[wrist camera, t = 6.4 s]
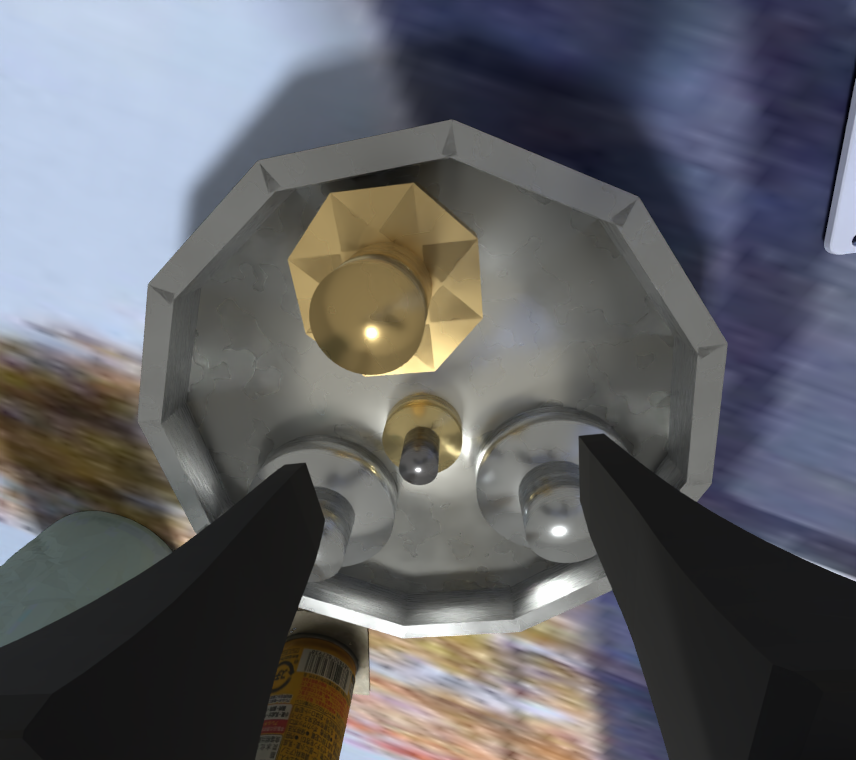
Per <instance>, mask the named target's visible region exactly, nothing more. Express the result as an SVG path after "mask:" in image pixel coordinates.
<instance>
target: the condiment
mask: <svg viewBox="0 0 856 760" xmlns="http://www.w3.org/2000/svg"><path fill="white" fill-rule="evenodd" d="M293 628H297V629H296V630H293ZM290 631H293V633H290ZM290 631H289V633H288V636H287V639H286V642H285V645H284V648H283V651H282V654H281V657H280V661H279V665H278V668H277V672H276V676H275V680H274V683H273V687H272V691H271V694H270V698H269V702H268V706H267V711H266V715H265V719H264V723H263V727H262V731H261V735H260V740H259V744H258V748H257V753H256V758H255V760H339V756H340V752H341V748H342V742H343V737H344V733H345V728H346V723H347V718H348V714H349V708H350V704H351V699H352V695H353V694H359V695H369V657H368V633H367V628H366V627H363V626H360V625H356V624H353V623H349V622H346V621H343V620H339V619H336V618H333V617H329V616H326V615H322V614H319V613H314V612H307V611H305V610H302V611H297V612H296V615H295V617H294V620H293V623H292V625H291V628H290Z"/></svg>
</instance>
